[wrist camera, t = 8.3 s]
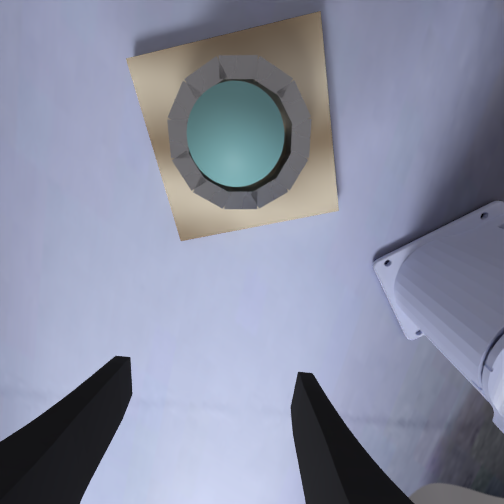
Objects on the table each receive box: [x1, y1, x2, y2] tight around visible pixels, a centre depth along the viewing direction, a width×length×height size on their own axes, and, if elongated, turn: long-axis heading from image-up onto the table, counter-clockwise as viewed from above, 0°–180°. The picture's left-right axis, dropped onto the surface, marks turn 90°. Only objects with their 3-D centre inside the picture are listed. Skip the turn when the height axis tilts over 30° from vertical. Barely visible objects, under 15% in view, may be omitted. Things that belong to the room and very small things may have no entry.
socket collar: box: [167, 55, 312, 209], centre depth 16 cm, size 8×8×2 cm
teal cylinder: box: [187, 81, 284, 187], centre depth 14 cm, size 4×4×6 cm
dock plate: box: [126, 11, 339, 241], centre depth 17 cm, size 11×11×1 cm
